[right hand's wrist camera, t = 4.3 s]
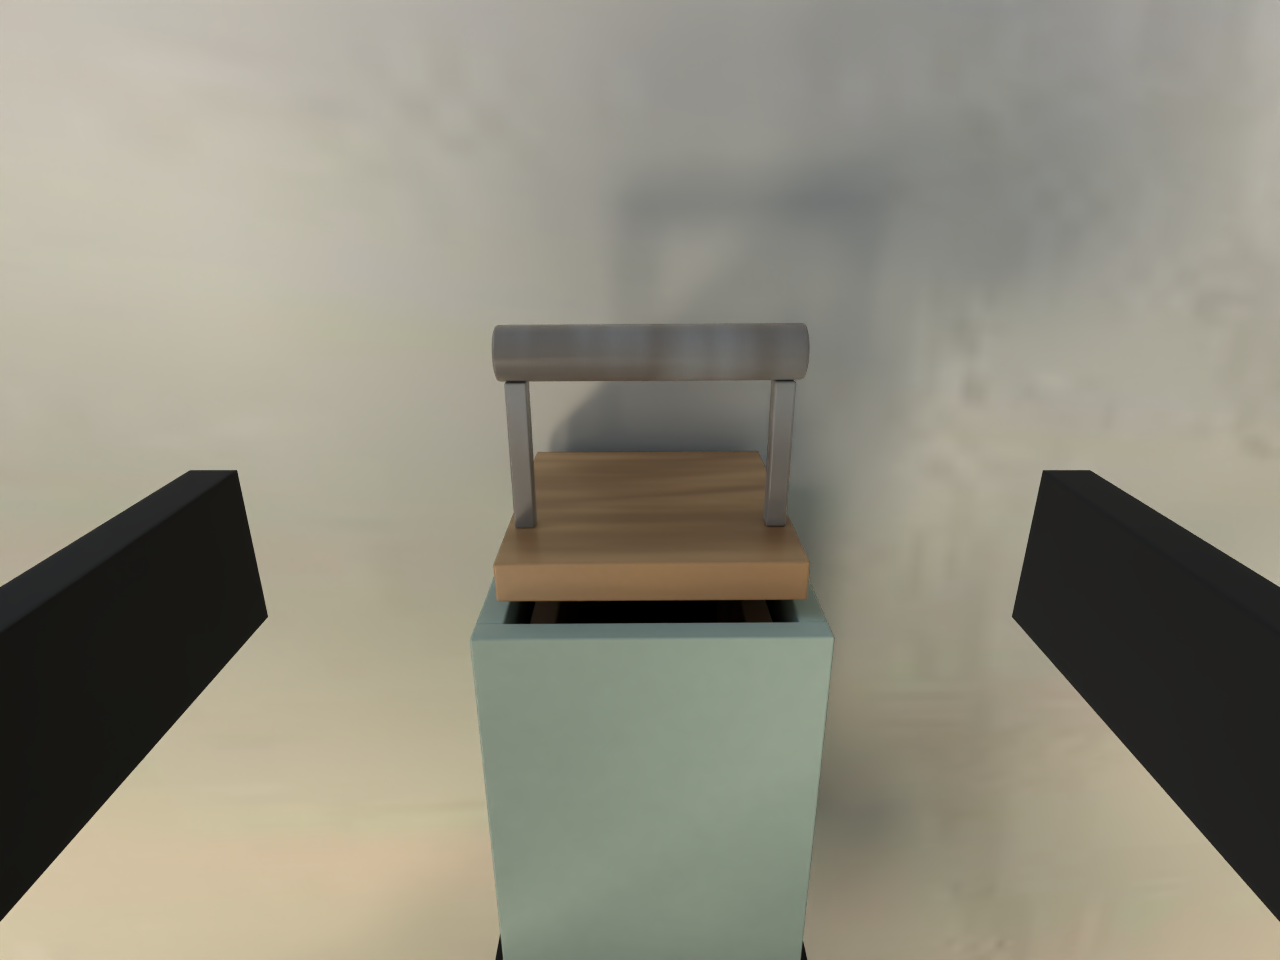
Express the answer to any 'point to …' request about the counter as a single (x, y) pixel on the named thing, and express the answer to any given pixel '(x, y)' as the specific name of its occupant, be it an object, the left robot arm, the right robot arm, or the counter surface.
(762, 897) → the cabinet
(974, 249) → the counter surface
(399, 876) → the counter surface
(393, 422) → the counter surface
